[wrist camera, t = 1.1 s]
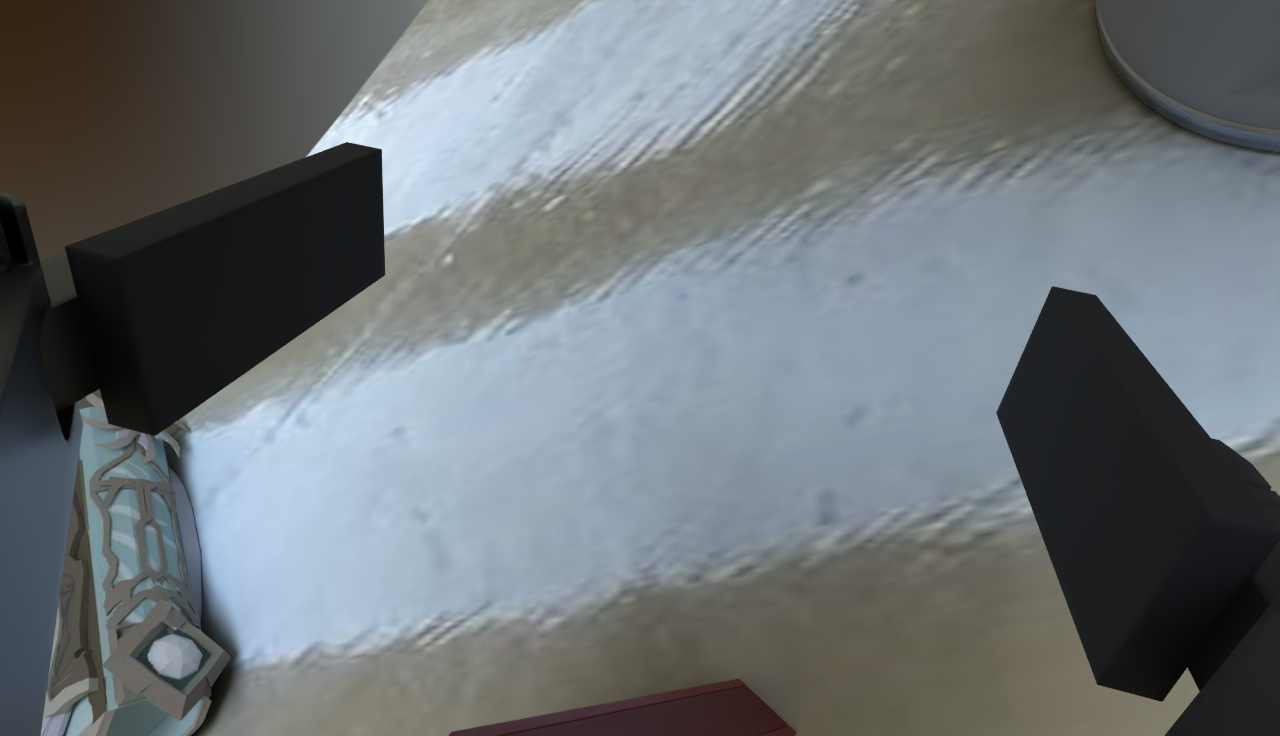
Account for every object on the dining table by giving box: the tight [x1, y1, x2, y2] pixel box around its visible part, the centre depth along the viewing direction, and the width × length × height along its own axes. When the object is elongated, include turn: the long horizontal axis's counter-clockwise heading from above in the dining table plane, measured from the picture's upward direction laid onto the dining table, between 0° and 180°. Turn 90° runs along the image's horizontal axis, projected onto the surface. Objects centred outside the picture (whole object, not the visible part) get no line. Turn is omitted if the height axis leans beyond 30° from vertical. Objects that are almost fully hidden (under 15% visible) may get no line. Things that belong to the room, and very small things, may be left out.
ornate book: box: [41, 393, 231, 736], centre depth 54 cm, size 23×10×30 cm
